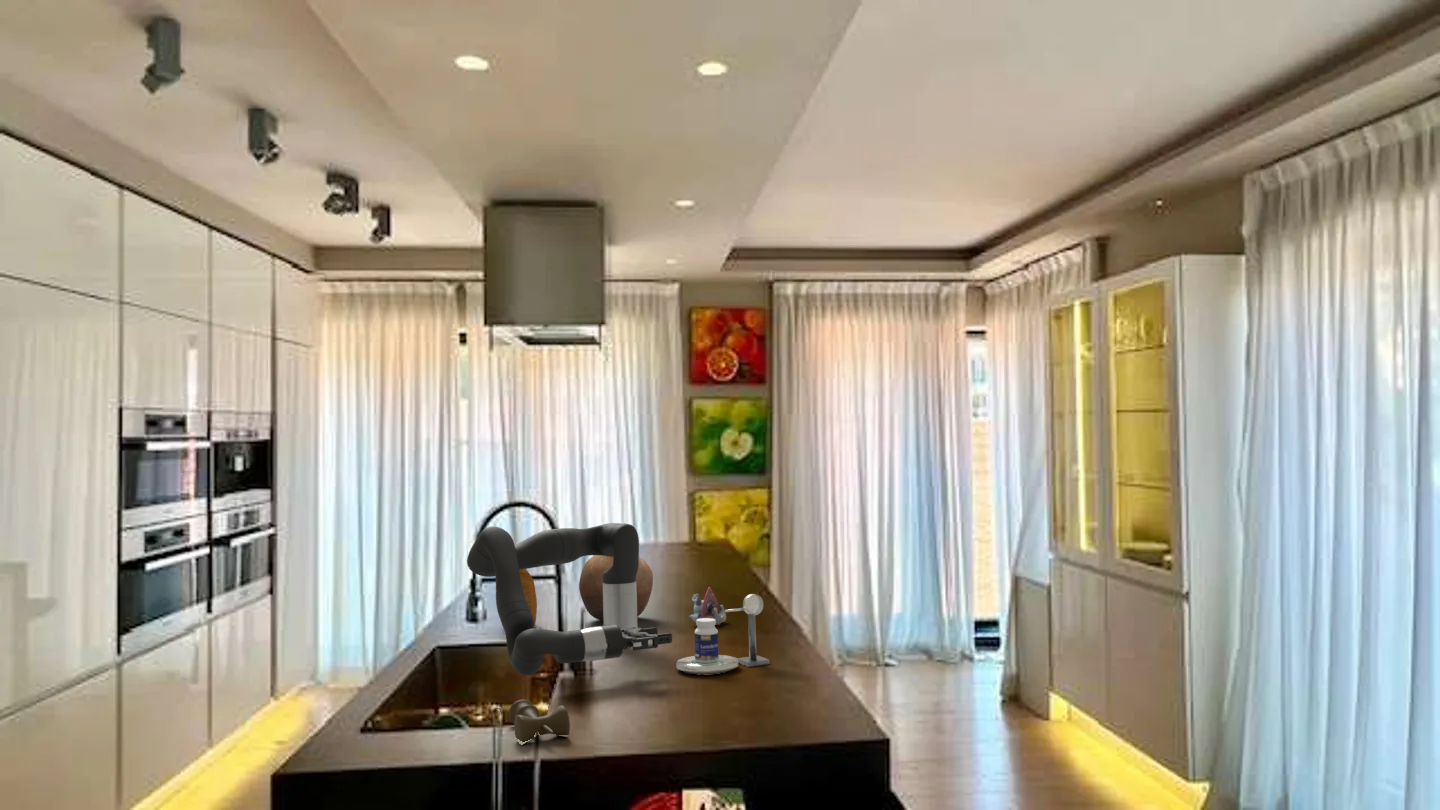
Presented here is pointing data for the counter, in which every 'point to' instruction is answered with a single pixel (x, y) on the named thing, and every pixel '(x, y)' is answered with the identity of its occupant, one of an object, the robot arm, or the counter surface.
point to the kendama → (537, 720)
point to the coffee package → (529, 591)
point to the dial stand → (752, 629)
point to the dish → (707, 665)
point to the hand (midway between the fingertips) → (664, 634)
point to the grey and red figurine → (708, 608)
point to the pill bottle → (706, 641)
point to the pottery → (594, 585)
